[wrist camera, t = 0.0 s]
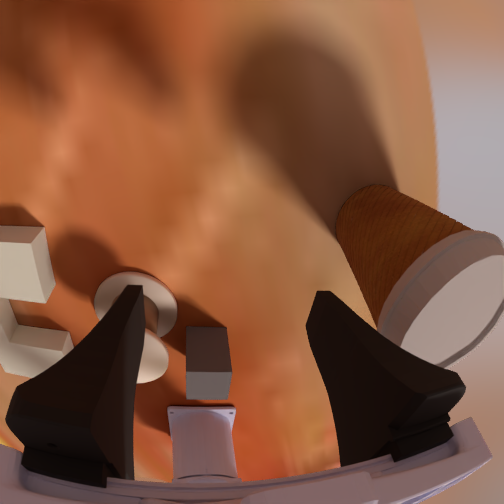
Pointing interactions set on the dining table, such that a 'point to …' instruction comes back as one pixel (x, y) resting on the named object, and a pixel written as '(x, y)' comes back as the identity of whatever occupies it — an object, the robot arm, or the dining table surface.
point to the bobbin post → (156, 314)
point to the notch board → (27, 289)
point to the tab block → (207, 363)
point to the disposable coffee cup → (422, 274)
